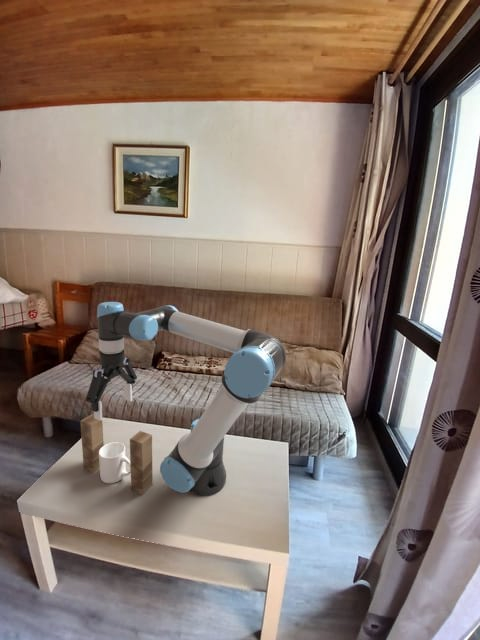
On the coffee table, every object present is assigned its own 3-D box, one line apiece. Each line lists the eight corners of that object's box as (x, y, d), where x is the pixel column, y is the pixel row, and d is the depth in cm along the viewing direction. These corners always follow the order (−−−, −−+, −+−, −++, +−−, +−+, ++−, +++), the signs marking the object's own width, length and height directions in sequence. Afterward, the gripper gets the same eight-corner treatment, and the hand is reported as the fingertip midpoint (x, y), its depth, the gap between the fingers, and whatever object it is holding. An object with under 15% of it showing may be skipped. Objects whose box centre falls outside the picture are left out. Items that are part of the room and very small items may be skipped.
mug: (123, 489, 105) (122, 463, 103) (94, 480, 108) (93, 454, 106) (138, 472, 113) (138, 447, 111) (111, 464, 116) (110, 439, 114)
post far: (104, 464, 116) (102, 417, 111) (94, 473, 112) (90, 424, 107) (94, 460, 118) (91, 414, 113) (83, 468, 113) (80, 420, 108)
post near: (152, 484, 108) (152, 434, 103) (143, 494, 104) (142, 443, 99) (140, 479, 110) (140, 430, 105) (131, 489, 105) (129, 438, 101)
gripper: (129, 338, 111) (131, 391, 117) (69, 360, 89) (74, 424, 94) (146, 341, 109) (147, 395, 114) (88, 365, 86) (92, 431, 92)
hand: (114, 409), depth 104 cm, fingers open, 13 cm apart
